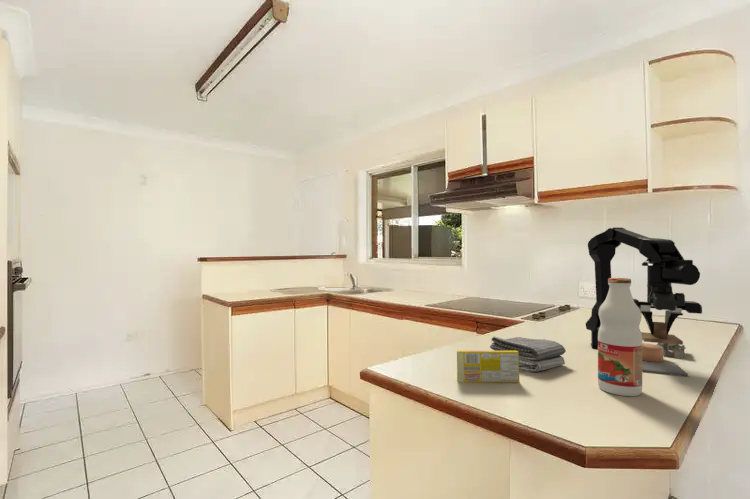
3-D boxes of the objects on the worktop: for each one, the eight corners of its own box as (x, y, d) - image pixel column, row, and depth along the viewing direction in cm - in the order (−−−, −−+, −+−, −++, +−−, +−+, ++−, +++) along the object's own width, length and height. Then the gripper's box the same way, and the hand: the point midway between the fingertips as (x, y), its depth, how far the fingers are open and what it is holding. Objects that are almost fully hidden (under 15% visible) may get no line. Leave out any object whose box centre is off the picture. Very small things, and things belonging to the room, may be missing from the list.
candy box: (517, 380, 104) (517, 350, 104) (519, 383, 102) (519, 352, 102) (456, 380, 104) (456, 349, 104) (458, 382, 102) (458, 351, 102)
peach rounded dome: (635, 360, 123) (635, 347, 123) (630, 354, 130) (630, 342, 130) (666, 363, 120) (666, 350, 120) (659, 356, 127) (659, 344, 127)
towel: (539, 376, 108) (539, 348, 108) (485, 360, 123) (485, 336, 123) (567, 366, 117) (567, 340, 117) (514, 353, 132) (514, 330, 132)
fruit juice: (652, 396, 92) (652, 279, 92) (615, 398, 91) (615, 279, 92) (623, 383, 102) (623, 277, 102) (589, 384, 101) (589, 277, 101)
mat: (640, 371, 111) (640, 369, 111) (633, 362, 121) (633, 360, 121) (688, 376, 107) (688, 374, 107) (677, 366, 116) (677, 364, 116)
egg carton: (682, 360, 124) (682, 347, 124) (654, 355, 130) (654, 343, 130) (687, 353, 132) (687, 341, 132) (660, 349, 137) (660, 338, 137)
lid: (644, 341, 112) (644, 324, 112) (637, 335, 120) (637, 319, 120) (682, 344, 108) (682, 326, 108) (673, 338, 116) (673, 321, 116)
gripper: (626, 283, 110) (626, 337, 110) (709, 285, 103) (709, 344, 103) (620, 280, 121) (620, 330, 121) (695, 282, 113) (695, 335, 113)
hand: (659, 334), depth 114 cm, fingers closed on lid, 3 cm apart
